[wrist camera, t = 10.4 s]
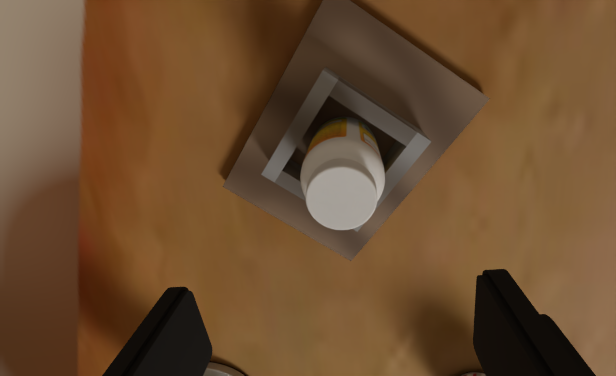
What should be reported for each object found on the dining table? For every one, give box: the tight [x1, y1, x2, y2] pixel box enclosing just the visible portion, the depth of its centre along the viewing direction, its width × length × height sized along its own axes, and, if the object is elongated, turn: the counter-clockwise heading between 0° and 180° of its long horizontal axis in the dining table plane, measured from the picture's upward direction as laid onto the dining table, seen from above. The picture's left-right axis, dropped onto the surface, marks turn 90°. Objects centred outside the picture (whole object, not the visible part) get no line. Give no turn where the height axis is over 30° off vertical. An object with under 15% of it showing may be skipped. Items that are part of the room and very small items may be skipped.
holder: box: [223, 0, 490, 261], centre depth 26 cm, size 18×14×4 cm
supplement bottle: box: [300, 117, 385, 230], centre depth 22 cm, size 5×5×10 cm
